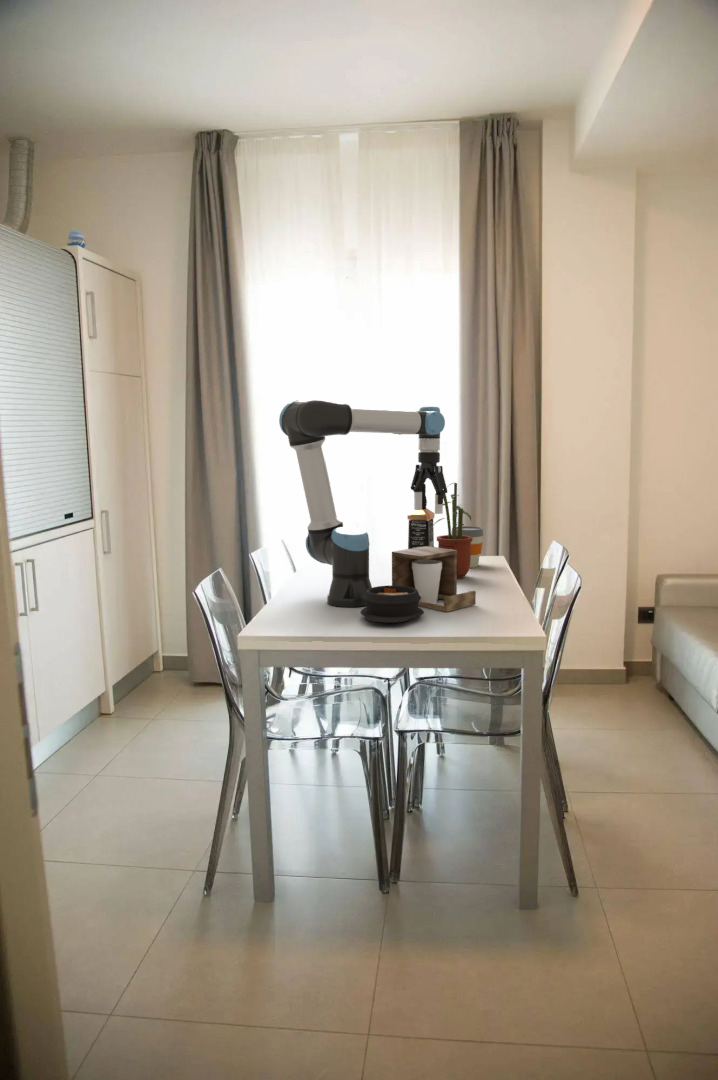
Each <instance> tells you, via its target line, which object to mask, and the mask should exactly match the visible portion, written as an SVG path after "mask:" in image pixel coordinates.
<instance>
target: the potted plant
mask: <svg viewBox="0 0 718 1080" xmlns="http://www.w3.org/2000/svg"><path fill="white" fill-rule="evenodd" d="M451 485H453V487H454V488H453V494H450V497H451V498H450V499H452V500H451V501H448V499H447V495H446V494H447V493H445V494H444V495H443V507H445V514H446V518H445V517H441V518H439V519H438V520H436V521H435V522H434V523H433V526H432V527H433V528H434V526H435V525H436V524H437V523H439V522H440V521H442V520H444V519H446V523H447V532H448V533H447V534H445V535H444V534H443V535H438V536H436V542H438V545H437V548H444V549H452V550H457V580H458V579H459V580H460V579H463V578H464V577H466V575H467V574H468V572H469V571H470V568H469V567H470V559H471V542H472V540H473V537H471V536H465V535H462V526H465V524H464V523H463V521H464V520H463V517H464V514H465V515H466V516H468V518H469V521H472V516H471V514H469V513H468V512H467V511H465V510H464V508H463V507H461V505H459V504H458V497H459V495H460V494H458V483H457V482H452V483H449V486H451ZM450 503H452V504H451V505H452V507H451V509H452V510H451V511H452V513H451V514H452V519H451V518H450V511H449V510H450V509H449V505H448V504H450ZM457 518H458V519H457ZM451 520H452V527H451ZM457 520H458V521H457ZM456 527H458V535H456ZM452 528H453V535H451V532H452ZM430 530H431V529H430Z"/></svg>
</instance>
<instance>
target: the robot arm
mask: <svg viewBox="0 0 718 1080" xmlns="http://www.w3.org/2000/svg"><path fill="white" fill-rule="evenodd" d="M278 422H279V427H280V430H281V431H282V432H283V434H284V435H285V436H287V437H288V443H289V447H290V448H292V449H293V450H294V451H295V453H296V457H297V463H298V466H299V472H300V477H301V481H302V482H301V483H302V486H303V491H304V496H305V500H306V505H307V510H308V514H309V519H310V522H309V524H308V525H307V531H308V532H307V537H306V538H305V548H306V551H307V553H308V555H309V556H310V557H311V558H312V559H313V560H315V561H316V562H319V563H321V564H326V565H330V566H332V569H331V570H332V572H331V573H332V577H331V578H332V580H331V584H330V588H329V590H328V591H329V593H328V594H327V597H326V600H327V604H328V605H329V606H334V607H340V608H341V607H342V608H358V607H359V608H360V607H366V602H365V600H364V599H363V597H364V596H365V594H366V591H367V590H368V589H370V588H373V587H372V582H371V579H370V538H369V533H368V532H367V531H366V530H364V529H362V528H358V527H351V526H344V524H343V523H344V522H343V519H341V518H340V517H338V515H337V512H336V507H335V503H334V497H333V492H332V488H331V482H330V478H329V473H328V469H327V463H326V458H325V454H324V448H323V443H324V442H325V441H326V437H328V436H337V435H338V436H340V435H341V436H346V435H348V434H349V433H378V434H394V435H399V436H400V435H418V444H417V448H418V449H417V450H418V451H419V452H418V453H417V454H418V455H417V460H418V463H420V464H415V469H414V474H413V478H412V482H411V485H410V490H411V491H413V493H414V495H413V496H414V497H413V498H414V505H413V506H414V507H413V508H414V509H413V510H422V490H421V489H422V487H423V485H424V484H426V481H427V479H428V480H430V481H431V483H432V486H433V488H434V491H435V495H434V514H436V515H440V514H442V515H443V513H444V511H443V510H444V509H443V508H444V506H443V504H444V499H443V495H444V494H448V486H447V484H446V480H445V477H444V472H443V471H444V470H443V466H442V465H437V464H438V463H440V459H441V457H440V456H441V453H440V452H439V451H440V450H441V433H442V432H443V431H444V429H445V425H446V420H445V417H444V415H443V414H442V413H441V408H440V407H439V406H420V407H419V408H418V410H410V409H409V410H408V409H393V408H390V409H389V408H375V407H374V408H373V407H371V408H370V407H357V406H356V407H355V406H350V404H349V403H342V402H341V403H340V402H334V401H328V400H323V399H319V398H318V399H316V398H315V399H297V400H295V401H294V400H293V401H291V402H288V403H287V404H286V405H285V406H284V407H283V408H282V410H281V412H280V414H279V421H278Z"/></svg>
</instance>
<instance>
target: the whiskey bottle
mask: <svg viewBox="0 0 718 1080" xmlns="http://www.w3.org/2000/svg"><path fill="white" fill-rule="evenodd" d="M426 485H427V484H426V483H424V485H423V487H422V489H421V490H422V510H414V509H413V510H411V512H409V513H408V514H407V520H408V531H407V533H408V538H407V539H408V540H407V549H412V548H418V547H424V546H429V547H435V545H434V543H435V541H434V537H435V535H434V534H435V533H434V532H435V531H434V526H433V525H434V518H435V512H433V511H431V510H430V509H429V508H427V505H428V499H427V495H426V492H427V491H426V489H427V488H426ZM432 526H433V527H432ZM430 529H431V530H430Z"/></svg>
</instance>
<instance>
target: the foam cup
mask: <svg viewBox="0 0 718 1080" xmlns="http://www.w3.org/2000/svg"><path fill="white" fill-rule="evenodd" d="M412 570H413V577H414V585H415V589H417V590H418V593H419V595H420V596H421V599H420V601H422V602H427V603H432V604H437V602H438V590H439V583H440V575H441V570H442V562H441V561H439V560H432V559H426V560H414V561H412Z"/></svg>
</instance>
